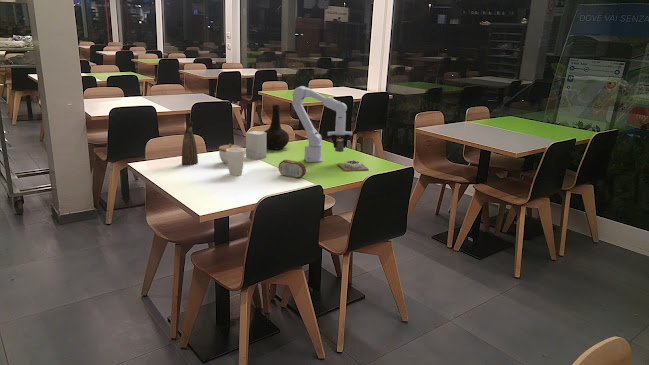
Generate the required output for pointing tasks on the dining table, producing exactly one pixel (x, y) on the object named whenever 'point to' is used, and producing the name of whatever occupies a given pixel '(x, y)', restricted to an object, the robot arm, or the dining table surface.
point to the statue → (189, 147)
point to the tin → (292, 169)
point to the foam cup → (235, 160)
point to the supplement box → (256, 144)
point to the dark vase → (276, 131)
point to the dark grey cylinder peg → (339, 145)
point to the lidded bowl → (223, 152)
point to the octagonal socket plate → (352, 166)
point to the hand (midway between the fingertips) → (339, 147)
